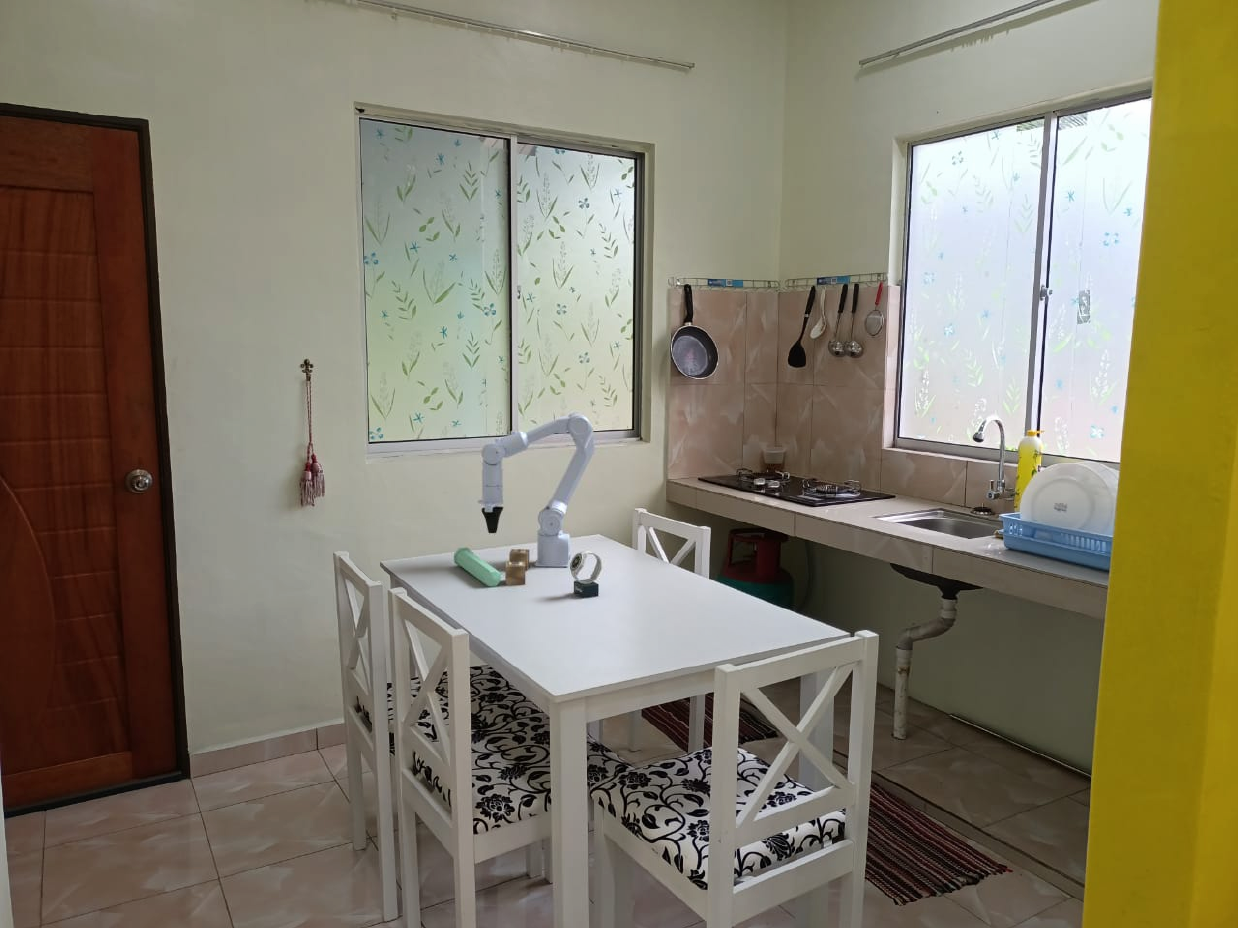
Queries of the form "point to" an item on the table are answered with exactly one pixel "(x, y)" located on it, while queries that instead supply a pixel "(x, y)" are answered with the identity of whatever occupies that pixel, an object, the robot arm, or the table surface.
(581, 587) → the watch
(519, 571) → the labelled block
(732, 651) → the table surface
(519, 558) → the labelled block
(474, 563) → the container
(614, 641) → the table surface
